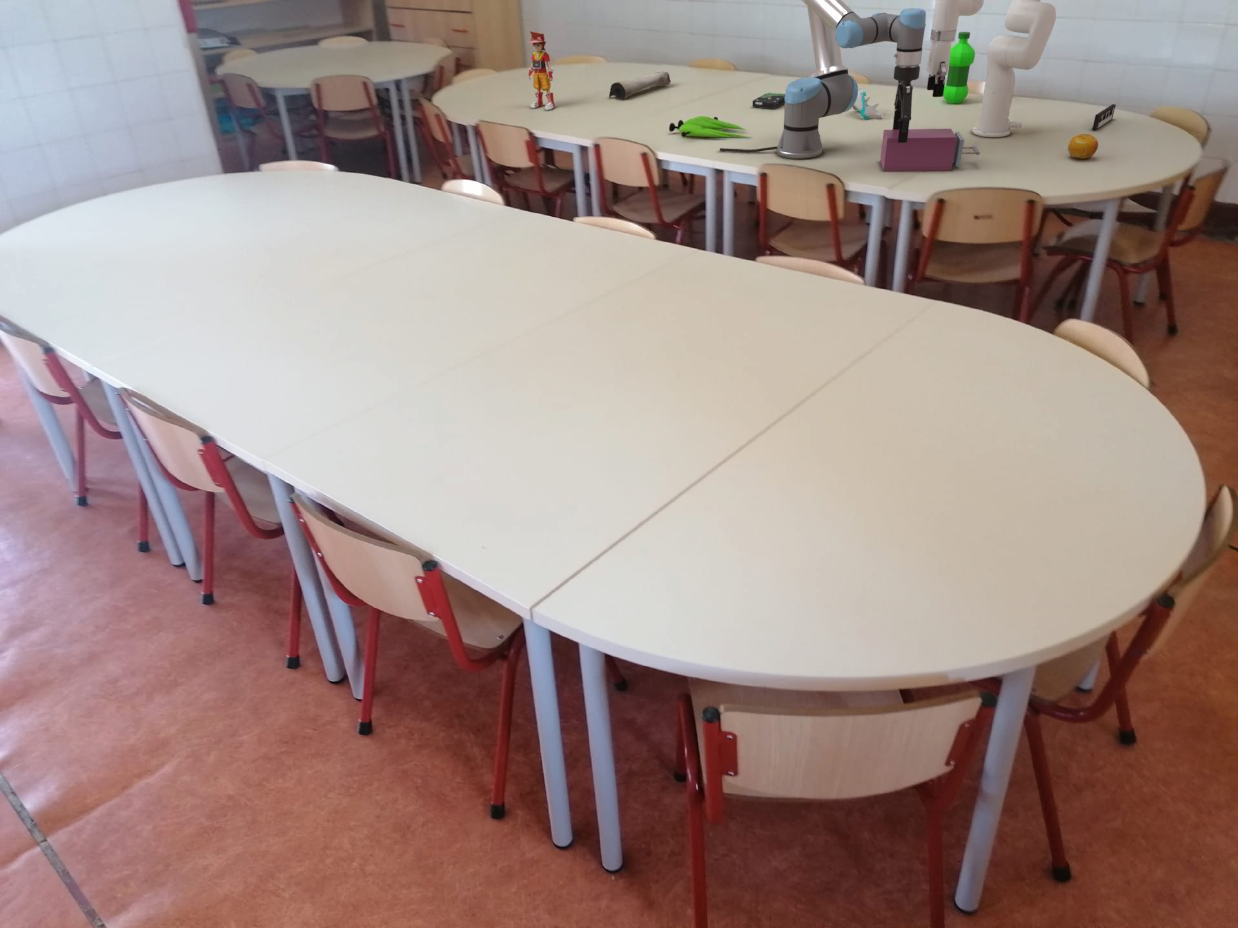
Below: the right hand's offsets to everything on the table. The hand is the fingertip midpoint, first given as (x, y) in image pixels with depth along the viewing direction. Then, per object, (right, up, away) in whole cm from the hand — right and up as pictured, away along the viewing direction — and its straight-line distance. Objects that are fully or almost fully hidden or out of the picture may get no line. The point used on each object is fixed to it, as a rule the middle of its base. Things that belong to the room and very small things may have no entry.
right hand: (934, 93), depth 291 cm
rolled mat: (-93, +44, +106) cm, 148 cm away
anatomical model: (-8, +14, +55) cm, 58 cm away
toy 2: (-68, +3, +44) cm, 81 cm away
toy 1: (-135, +32, +92) cm, 167 cm away
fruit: (+47, -21, -1) cm, 51 cm away
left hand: (-13, -16, -4) cm, 21 cm away
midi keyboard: (+70, 0, +28) cm, 75 cm away
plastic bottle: (+30, +23, +64) cm, 74 cm away
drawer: (0, -23, -1) cm, 23 cm away
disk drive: (-40, +27, +76) cm, 90 cm away
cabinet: (-6, -23, 0) cm, 24 cm away
